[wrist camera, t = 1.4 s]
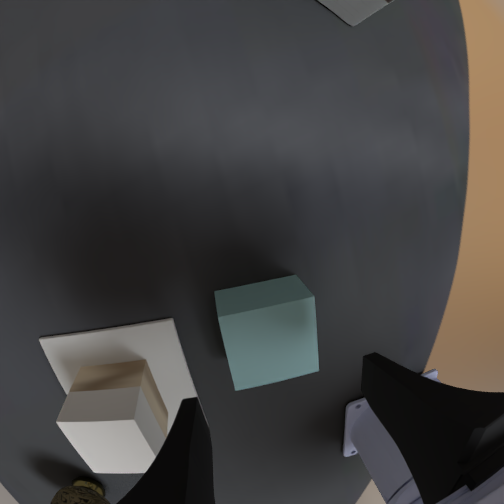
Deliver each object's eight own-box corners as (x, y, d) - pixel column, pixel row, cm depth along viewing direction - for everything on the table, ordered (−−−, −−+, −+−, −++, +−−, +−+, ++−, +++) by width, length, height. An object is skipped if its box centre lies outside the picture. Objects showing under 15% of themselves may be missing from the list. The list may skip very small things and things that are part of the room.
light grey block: (140, 386, 16) (134, 419, 13) (166, 440, 18) (165, 471, 15) (68, 391, 16) (56, 421, 13) (101, 443, 17) (94, 472, 14)
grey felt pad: (172, 317, 19) (172, 319, 18) (209, 426, 21) (209, 429, 21) (40, 337, 17) (38, 339, 17) (95, 436, 20) (94, 438, 20)
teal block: (294, 273, 19) (314, 296, 16) (301, 341, 21) (319, 370, 17) (214, 290, 19) (217, 317, 15) (229, 357, 20) (235, 390, 17)
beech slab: (146, 359, 19) (140, 386, 16) (168, 412, 20) (166, 440, 18) (80, 366, 18) (68, 391, 16) (107, 417, 20) (101, 443, 17)
